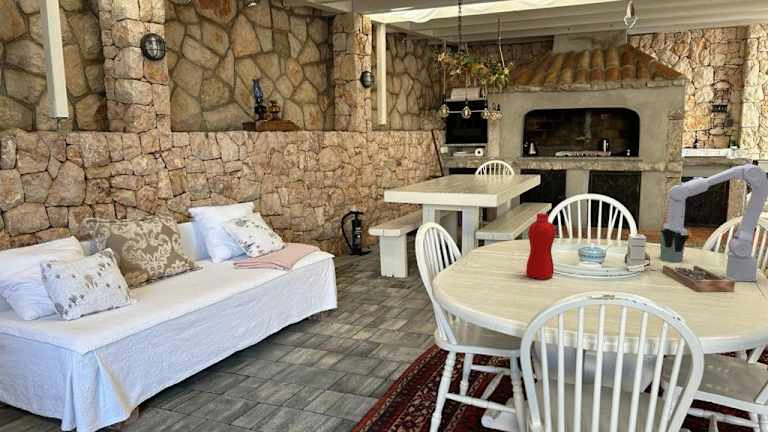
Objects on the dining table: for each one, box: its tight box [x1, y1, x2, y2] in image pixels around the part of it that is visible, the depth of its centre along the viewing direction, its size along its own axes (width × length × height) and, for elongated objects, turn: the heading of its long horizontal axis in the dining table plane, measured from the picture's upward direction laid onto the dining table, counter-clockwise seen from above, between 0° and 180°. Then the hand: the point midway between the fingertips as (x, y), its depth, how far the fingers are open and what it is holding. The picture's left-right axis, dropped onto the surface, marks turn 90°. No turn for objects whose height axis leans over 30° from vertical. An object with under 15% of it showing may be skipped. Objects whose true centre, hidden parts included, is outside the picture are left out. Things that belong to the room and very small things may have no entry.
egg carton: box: [674, 266, 707, 281], centre depth 218 cm, size 11×8×4 cm
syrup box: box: [626, 233, 647, 273], centre depth 229 cm, size 6×6×14 cm
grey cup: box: [659, 231, 686, 263], centre depth 246 cm, size 10×10×12 cm
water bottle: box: [525, 212, 556, 281], centre depth 219 cm, size 9×11×25 cm
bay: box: [662, 265, 736, 293], centre depth 214 cm, size 13×25×4 cm, turn 179°
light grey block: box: [624, 251, 651, 265], centre depth 242 cm, size 10×10×8 cm
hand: (673, 249), depth 225 cm, fingers open, 7 cm apart
